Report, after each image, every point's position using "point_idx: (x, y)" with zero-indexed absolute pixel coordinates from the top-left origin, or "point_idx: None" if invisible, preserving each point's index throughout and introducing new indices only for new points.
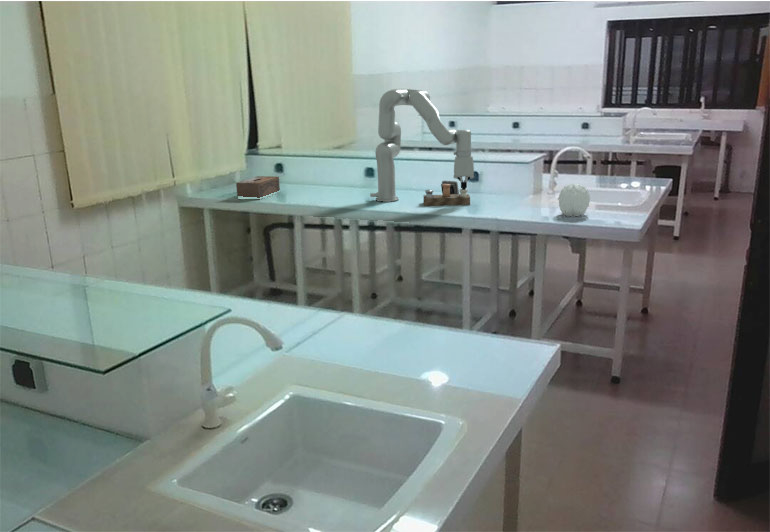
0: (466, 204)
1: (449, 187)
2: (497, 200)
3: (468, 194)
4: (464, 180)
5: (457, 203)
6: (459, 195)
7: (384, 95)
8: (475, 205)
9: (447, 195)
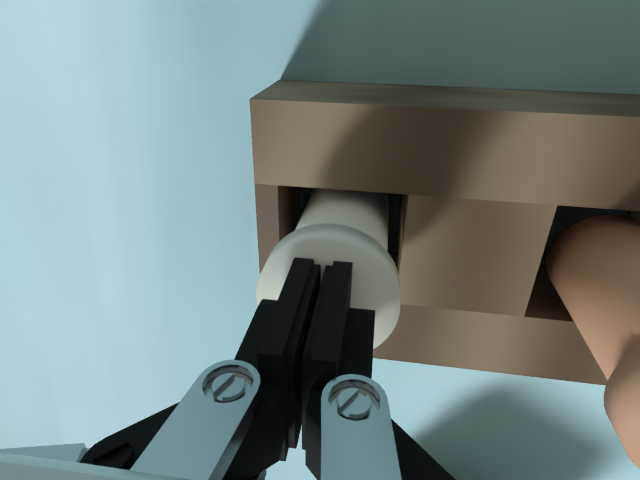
0: (325, 83)
1: (628, 350)
2: (12, 277)
3: None
4: (271, 447)
5: (453, 90)
6: None
7: None
8: (210, 31)
9: (619, 235)
